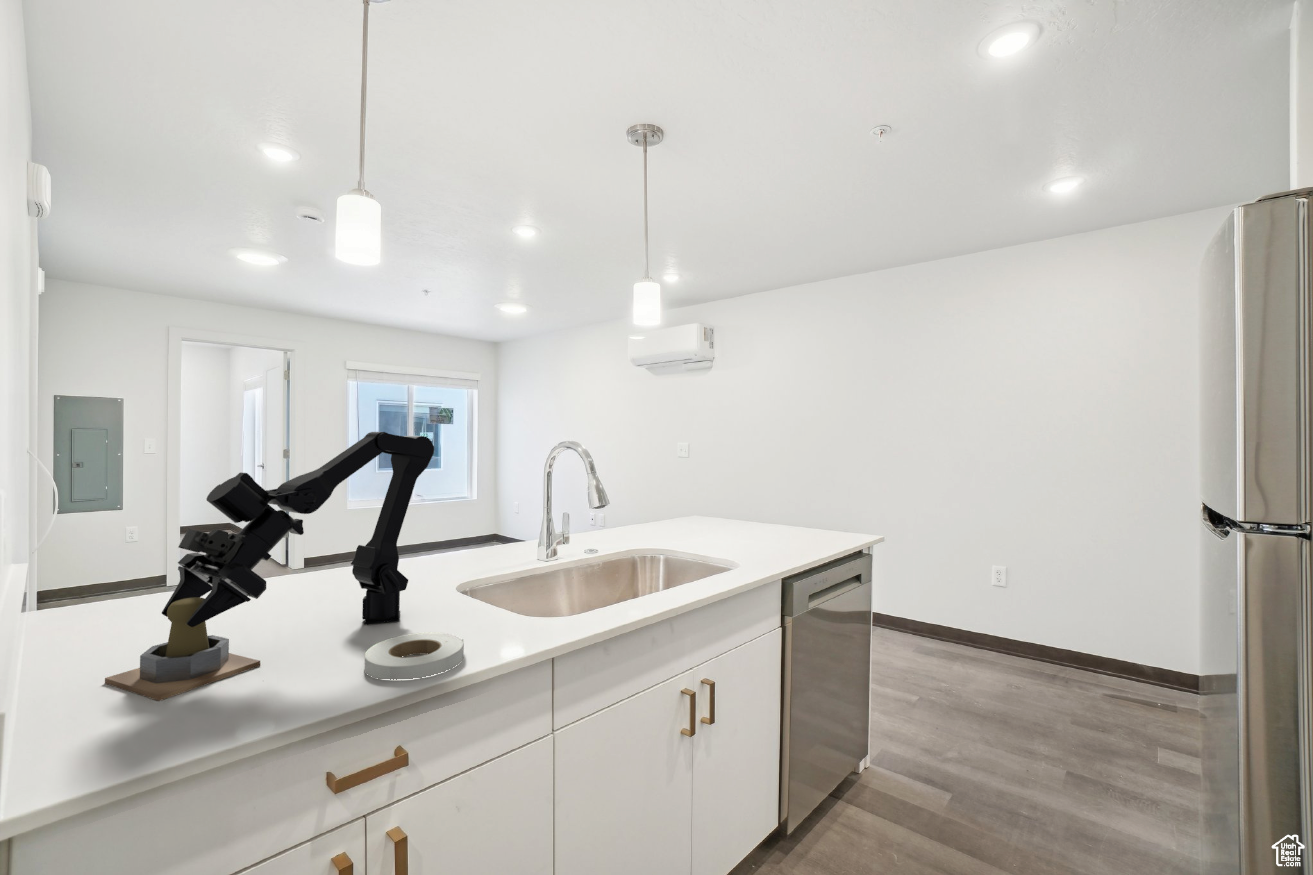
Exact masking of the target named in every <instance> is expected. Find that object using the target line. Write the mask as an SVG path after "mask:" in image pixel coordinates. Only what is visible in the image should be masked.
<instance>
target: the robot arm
mask: <svg viewBox="0 0 1313 875" xmlns="http://www.w3.org/2000/svg"><path fill="white" fill-rule="evenodd" d="M381 454H387V455H391V456H390V457H391V458H390V463H391V467H392V475H391V479H390V482H389V485H388V488H387V491H386V494H385V496H384V501H383V503H382V507H381V509H380V512H379V516H378V519H377V522H376V525H375V528H374V530H373V534H372V536H371V539H370V540H369V541H368V542H367V544H365V545H362V544H359V545H358V546H357V548H356V549H355V555H354V558H353V560H352V561H351V563H350V565H351V566H352V572H351V573H352V575H353V577H354V579H355V580H356V581H358V583H359V586H360V589H363V590H364V589H365V590H366V591H365V595H364V597H363V599H362V617H361V618H362V620H364V621H363V624H364V625H373V624H382V623H384V624H385V623H394V622H395V623H396V622H400V619H401V618H400V617H401V610H400V609H401V608H400V605H401V604H400V602H401V600H400V599H401V598H400V597H401V596H400V594H401V592H403V591H406V590H407V586H408V583H409V579H408V578H407V577H406V576H405V575H404V574H403V573H402V572H401V571H399V569H398V567H399V561H400V555H399V550H398V541H399V540H398V539H399V537H400V534H401V530H402V527H403V524H404V521H405V517H406V514H407V510H408V507H409V504H410V502H411V498H412V495H413V492H414V488H415V485H416V482H417V480H418V478H419V476H421V474H423V472H424V471H425V470H426V469H427V468H428V467H429V464H430V462H431V460H432V458H433V456H434V454H435V445H433V442H432V440H431V439H430V438H429V437H428V436H422V435H404V436H403V435H397V434H392V433H388V432H387V431H370V432H368V433H366V435H365V436H363V438H361V439H360V440H358V441H357V442H355V443H354V444H352V445H351V446H350V447H348V448H347V449H345V450H343V452H340V453H339V454H338V455H337V456H335V457H334V458H332V459H330V460H329V461H327V462H326V463H324V464H323V465H321V466H320V467H318V468H316V469H315V470H312V471H309V472H306V473H304V474H300V475H298V476H296V477H294V478H292V479H289V480H287V481H285V482H283V483H281V484H280V485H279V486H278V487H277V488H274V489H273V488H272V489H269V490H266V489H264V488H263V487H262V486H261V485H260V484H258V483H257V482H256V481H255V480H254V478H253V477H252V476H251V475H250V474H249V473H248V472H239V473H237V474H236V476H233V477H231V478H228V479H227V480H225V481H223V482H222V483H221V484H218V485H216V486H215V487H214V488H213V489H212V490H210V492H209V494H208V495H207V497H206V501H207V503H209V504H211V505H212V506H213V507H214V508H215V509H217V510H218V511H219V512H221V513H222V514H223V515H225V516H226V517H227V518H228V519H229V520H231V521H232V522H233V523H235V524H237V523H238V524H239V523H242V522H244V523H247V524H246V525H245V526H244V527H243V528H242V529H241V530H239V532H238V533H233V532H232V533H229V532H228V531H224V530H222V529H216V528H213V529H212V530H211V531H209V532H205V531H200V530H197V529H191V528H188V529H187V531H186V532H185V534H184V536H183V538H182V539H181V541H180V543H179V544H178V547H177V548H178V549H181V550H186V551H190V552H191V553H186V554H185V555H184V556H183V557H182V558H181V559H180V560H179V561H177V564H178V565H179V566H178V567H177V570H178V571H179V577H180V578H179V582H178V583H177V586H176V588H175V589H174V591H173V593H172V594H171V595H170V598H169V600H168V601H167V603H166V604H165V606H164V608H163V610H161V614H162V615H163V616H165V617H167V610H168V607H169V606H170V605H171V603H173V602H175V601H177V600H181V599H185V598H193V597H199V598H202V597H203V596H205V595H206V594H207V595H206V597H205V598H204V601H203V602H202V603H201V604H200V606H199V607H198V608H197V609H196V611H195V612H194V613H193V614H192V616H191V617H190V618H189V620H188V621H187V623H186V624H187V625H188V626H190V627H194V626H196V625H198V624H200V623H202V622H204V621H205V622H206V621H208V620H210V619H213V618H214V617H216V616H218V615H221V614H222V613H225V612H226V611H228V610H231V609H233V608H235V607H236V606H237V607H238V606H239V605H242V604H244V603H246V602H250V601H252V600H251V598H254V599H256V600H257V599H259V598H260V597H261V595H262V594H263V593H265V591H266V590H267V581H266V579H264V578H263V577H261V576H260V575H259V574H257V573H256V572H255V571H253V570H254V569H255V567H257V565H258V564H259V563H260V562H261V561H262V560H263V561H266V562H268V560H269V559H270V558H271V557H272V554H270V552H271V551H272V549H274V548H275V546H277V545H278V544H279V543H280V542H281V540H282V539H283V538H284V537H285V536H286V535H287V534H288V533H290V534H294V535H300V536H302V535H304V534H305V533H304V526H303V523H304V520H303V519H299V518H293V517H292V516H291V515H289V514H288V513H293V514H294V513H296V514H303V515H307V514H308V515H309V514H312V513H315V512H316V511H318V510H319V509H320V508H321V507H322V506H323V505H324V504H325V503H326V501H328V500H329V499H330V497H331V496H332V494H333V492H334V491H335V489H336V488H337V487H338V486H339V485H340V484H341V483H342V482H344V481H345V480H346V479H348V478H349V477H350V476H352V475H354V474H355V473H356V472H357V471H359V470H360V469H361V468H363V467H364V466H366V465H367V464H369V463H370V462H371V461H373V460H374V459H375V458H377V457H378V456H380V455H381ZM271 505H275V506H276V505H277V507H278V508H279V509H278V510H276V509H275V508H274V507H272V506H271ZM202 553H204V554H202ZM167 618H168V617H167Z"/></svg>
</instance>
